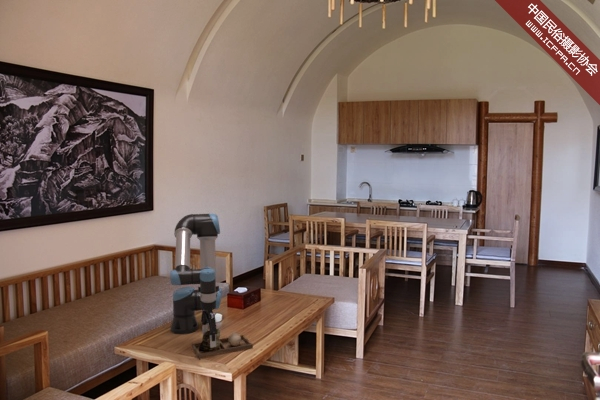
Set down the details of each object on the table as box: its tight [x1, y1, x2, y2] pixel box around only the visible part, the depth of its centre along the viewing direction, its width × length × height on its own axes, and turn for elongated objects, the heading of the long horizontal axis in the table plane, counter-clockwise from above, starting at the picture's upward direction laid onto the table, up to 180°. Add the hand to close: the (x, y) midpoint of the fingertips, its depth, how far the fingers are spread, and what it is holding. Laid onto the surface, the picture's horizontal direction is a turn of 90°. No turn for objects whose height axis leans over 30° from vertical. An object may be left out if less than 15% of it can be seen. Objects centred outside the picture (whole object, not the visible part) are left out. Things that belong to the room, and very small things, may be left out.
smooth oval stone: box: [227, 332, 241, 346], centre depth 249 cm, size 7×7×7 cm
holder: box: [191, 334, 254, 361], centre depth 247 cm, size 14×27×3 cm, turn 117°
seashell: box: [199, 328, 221, 352], centre depth 244 cm, size 11×11×10 cm
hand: (209, 342), depth 244 cm, fingers open, 13 cm apart
